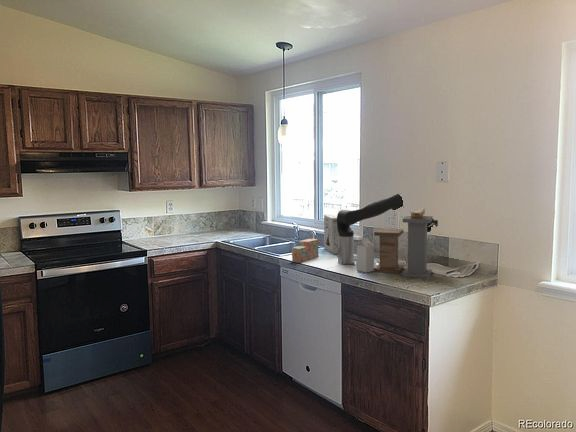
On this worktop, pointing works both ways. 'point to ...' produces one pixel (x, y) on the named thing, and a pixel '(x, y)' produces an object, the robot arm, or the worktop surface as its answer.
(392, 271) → the walnut stand
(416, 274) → the charcoal pedestal
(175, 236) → the worktop surface
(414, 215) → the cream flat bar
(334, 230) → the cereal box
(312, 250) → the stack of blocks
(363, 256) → the milk carton
